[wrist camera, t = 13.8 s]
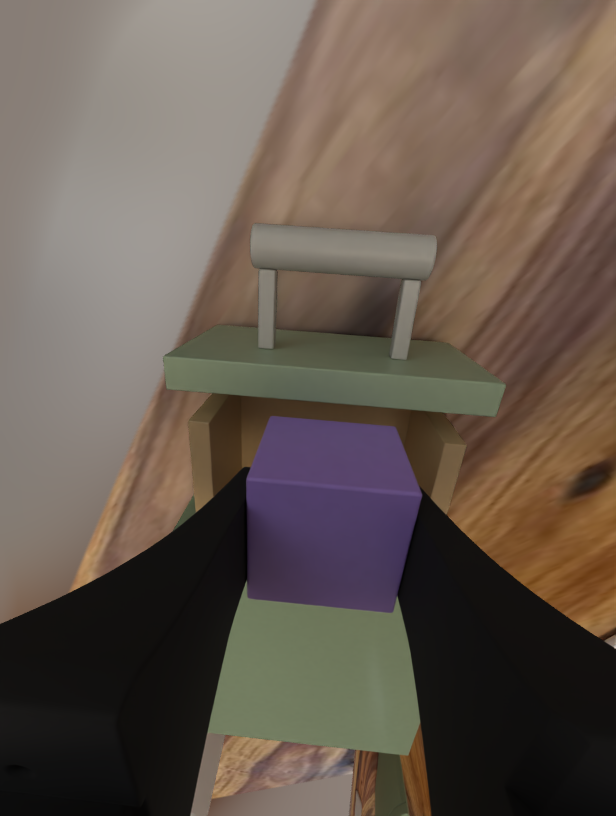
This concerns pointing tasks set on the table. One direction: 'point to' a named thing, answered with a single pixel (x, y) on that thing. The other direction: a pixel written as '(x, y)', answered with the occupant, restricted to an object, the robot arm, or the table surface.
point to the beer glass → (390, 783)
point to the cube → (329, 514)
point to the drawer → (330, 365)
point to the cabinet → (316, 676)
